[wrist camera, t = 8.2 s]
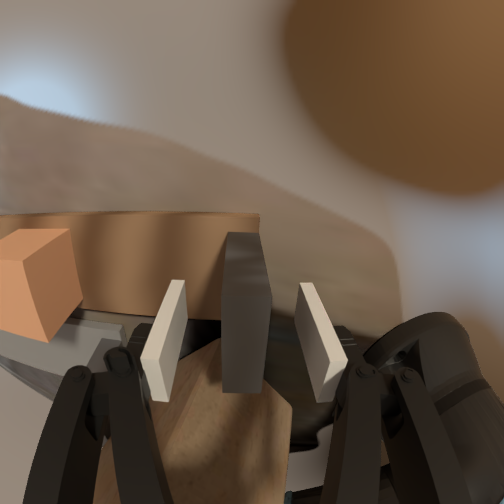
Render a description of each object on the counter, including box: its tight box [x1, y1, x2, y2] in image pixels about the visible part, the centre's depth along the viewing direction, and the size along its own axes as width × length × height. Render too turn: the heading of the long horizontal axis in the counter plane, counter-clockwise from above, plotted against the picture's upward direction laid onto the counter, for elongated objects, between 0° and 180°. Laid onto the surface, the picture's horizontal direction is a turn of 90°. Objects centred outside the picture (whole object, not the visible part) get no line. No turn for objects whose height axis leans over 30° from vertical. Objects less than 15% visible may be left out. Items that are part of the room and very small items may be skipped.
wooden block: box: [93, 338, 292, 504], centre depth 14 cm, size 10×10×20 cm
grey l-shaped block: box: [0, 317, 127, 447], centre depth 19 cm, size 24×8×9 cm, turn 87°
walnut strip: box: [0, 211, 272, 393], centre depth 16 cm, size 24×8×9 cm, turn 87°
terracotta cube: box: [0, 229, 83, 343], centre depth 16 cm, size 6×6×6 cm
